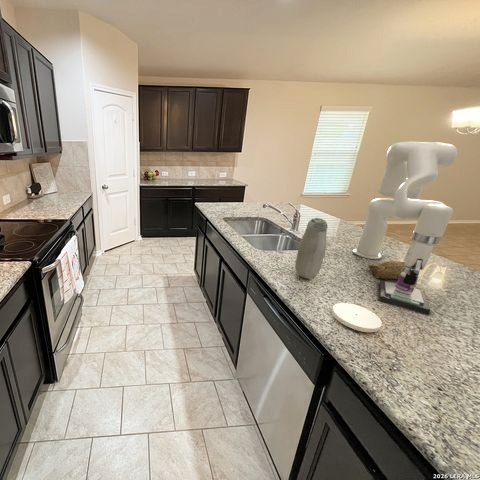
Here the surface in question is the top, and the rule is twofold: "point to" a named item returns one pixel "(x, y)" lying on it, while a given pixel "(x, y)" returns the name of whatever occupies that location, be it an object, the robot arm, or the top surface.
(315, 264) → the gray vase
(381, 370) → the top surface
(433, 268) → the top surface
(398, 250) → the top surface
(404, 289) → the pill bottle
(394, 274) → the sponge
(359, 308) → the plastic lid
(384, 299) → the scale
